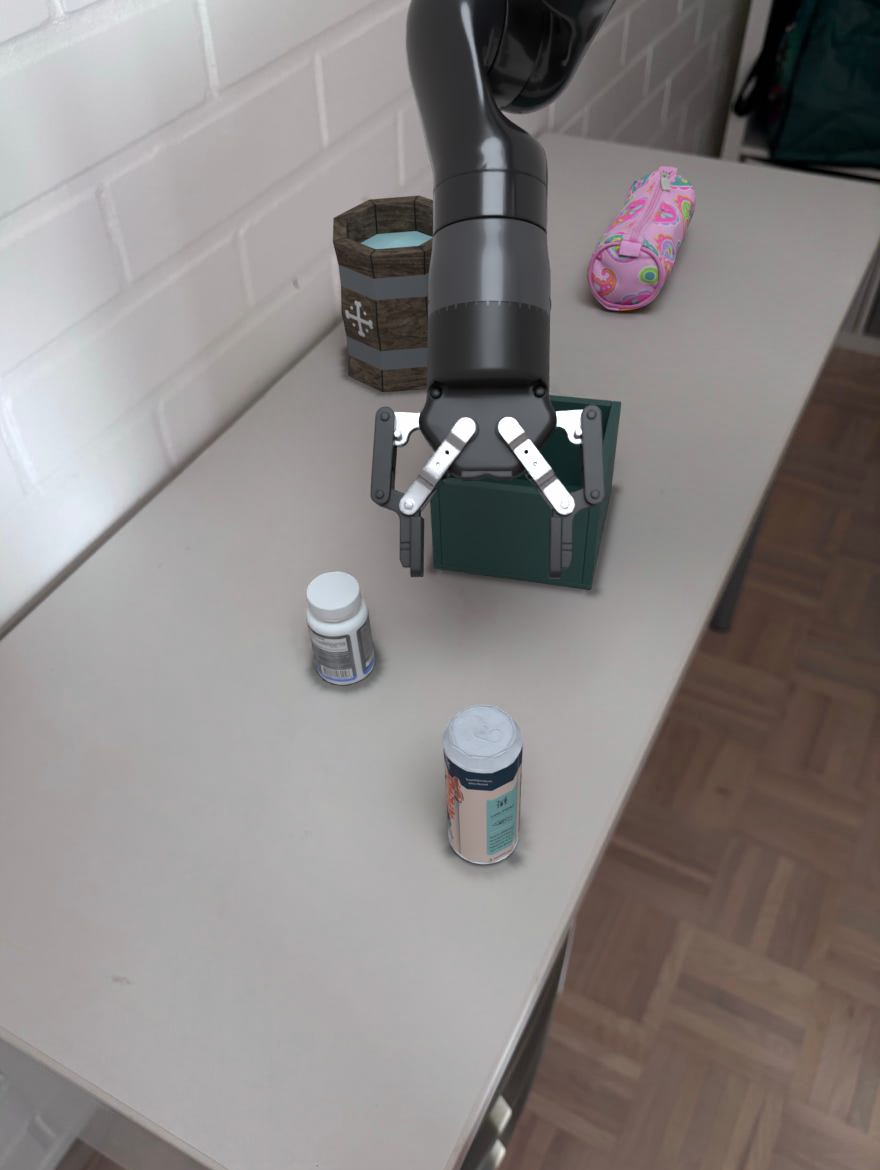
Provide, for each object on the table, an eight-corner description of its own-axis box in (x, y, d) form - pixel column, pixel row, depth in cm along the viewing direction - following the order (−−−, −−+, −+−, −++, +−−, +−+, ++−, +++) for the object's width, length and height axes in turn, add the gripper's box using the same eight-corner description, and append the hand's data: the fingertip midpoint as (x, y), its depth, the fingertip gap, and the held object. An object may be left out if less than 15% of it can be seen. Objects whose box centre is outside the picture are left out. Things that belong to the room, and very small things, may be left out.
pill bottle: (353, 633, 80) (341, 558, 74) (386, 666, 78) (377, 591, 72) (304, 661, 79) (289, 586, 72) (337, 696, 76) (323, 621, 70)
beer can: (465, 797, 69) (461, 688, 60) (529, 821, 67) (534, 712, 58) (437, 853, 66) (428, 747, 57) (502, 878, 64) (504, 773, 56)
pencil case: (623, 229, 125) (631, 156, 119) (695, 237, 123) (707, 163, 116) (577, 311, 112) (583, 234, 106) (657, 323, 110) (668, 244, 103)
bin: (611, 488, 91) (621, 401, 84) (591, 589, 82) (600, 501, 75) (467, 472, 94) (466, 386, 87) (433, 568, 85) (428, 481, 78)
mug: (324, 382, 106) (305, 248, 95) (371, 319, 114) (358, 189, 103) (499, 410, 100) (501, 270, 89) (534, 342, 109) (540, 206, 98)
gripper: (365, 298, 57) (363, 576, 58) (613, 292, 56) (608, 577, 56) (381, 332, 65) (379, 578, 65) (600, 328, 63) (595, 580, 64)
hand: (485, 577), depth 61 cm, fingers open, 8 cm apart
